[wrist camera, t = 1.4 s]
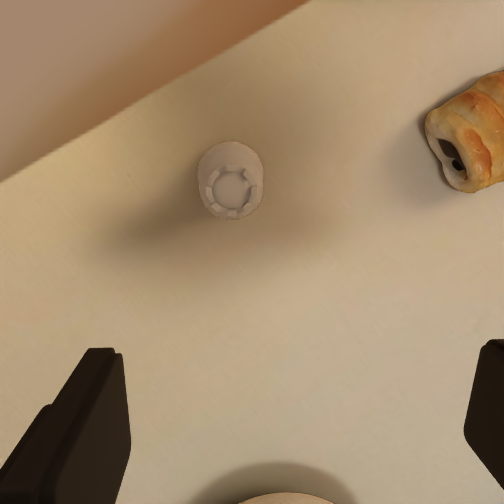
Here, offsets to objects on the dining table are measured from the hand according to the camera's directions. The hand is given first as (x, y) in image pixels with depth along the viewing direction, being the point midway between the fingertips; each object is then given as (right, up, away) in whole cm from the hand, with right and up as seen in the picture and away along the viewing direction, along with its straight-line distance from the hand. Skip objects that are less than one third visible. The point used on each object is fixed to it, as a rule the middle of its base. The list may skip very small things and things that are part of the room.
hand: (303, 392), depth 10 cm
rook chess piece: (-3, +9, +16) cm, 19 cm away
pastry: (+14, +12, +16) cm, 25 cm away
